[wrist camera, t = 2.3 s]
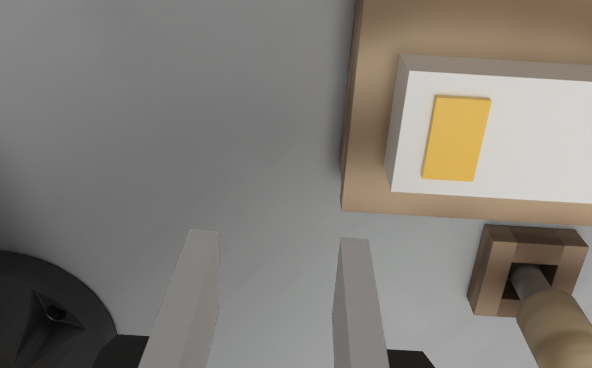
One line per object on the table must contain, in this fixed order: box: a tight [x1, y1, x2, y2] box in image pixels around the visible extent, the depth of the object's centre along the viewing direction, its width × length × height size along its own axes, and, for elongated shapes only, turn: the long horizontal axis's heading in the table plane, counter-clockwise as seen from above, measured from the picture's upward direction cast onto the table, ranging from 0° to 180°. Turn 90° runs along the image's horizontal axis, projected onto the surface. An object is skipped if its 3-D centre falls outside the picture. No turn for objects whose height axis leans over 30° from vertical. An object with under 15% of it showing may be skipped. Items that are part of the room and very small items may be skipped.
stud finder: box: [384, 54, 592, 204], centre depth 26 cm, size 6×10×3 cm, turn 87°
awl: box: [508, 262, 592, 368], centre depth 32 cm, size 4×4×12 cm
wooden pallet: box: [339, 0, 592, 318], centre depth 29 cm, size 31×26×4 cm
